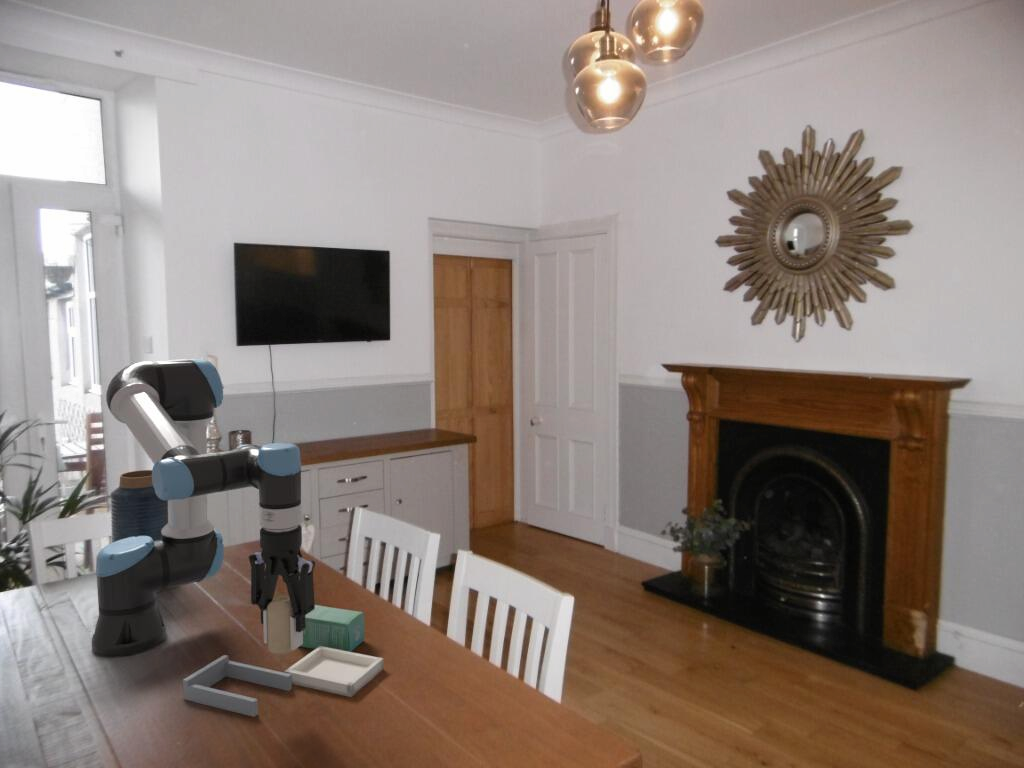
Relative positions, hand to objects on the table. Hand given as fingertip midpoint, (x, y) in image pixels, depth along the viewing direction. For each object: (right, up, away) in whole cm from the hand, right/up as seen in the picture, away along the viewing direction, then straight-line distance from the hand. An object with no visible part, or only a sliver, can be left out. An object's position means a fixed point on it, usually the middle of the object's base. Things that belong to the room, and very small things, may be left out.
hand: (283, 643), depth 138 cm
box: (+3, -10, +27) cm, 29 cm away
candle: (0, -1, 0) cm, 1 cm away
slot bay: (-10, -12, +5) cm, 16 cm away
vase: (-58, -6, +61) cm, 85 cm away
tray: (+7, -11, +12) cm, 18 cm away
